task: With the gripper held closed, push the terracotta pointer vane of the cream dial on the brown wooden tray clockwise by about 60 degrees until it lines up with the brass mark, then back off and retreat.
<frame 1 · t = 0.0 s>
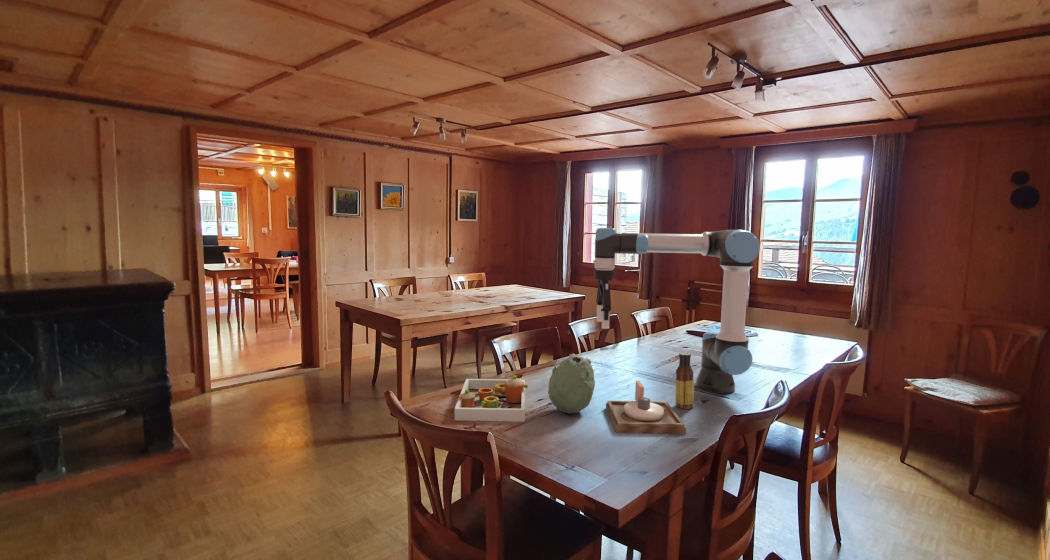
hand: (602, 325, 193), 28 cm above the table, fingers open, 13 cm apart
tea tray rim: (492, 403, 187), on the table
dial: (642, 399, 175), point 6 cm above the table, hinge at 0.0°
sauce bottle: (683, 407, 187), on the table
green rounded lumpy piece: (570, 412, 180), on the table
toy tea set: (492, 403, 187), resting in tea tray rim
brown wooden tray: (643, 420, 173), on the table
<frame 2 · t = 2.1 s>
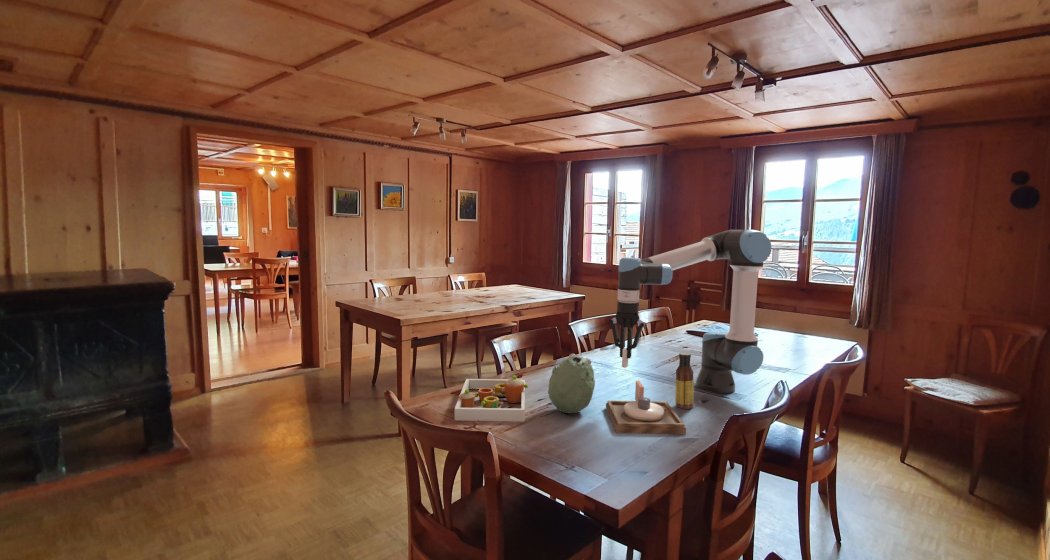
hand: (624, 366, 183), 15 cm above the table, fingers closed
nothing on the table moved.
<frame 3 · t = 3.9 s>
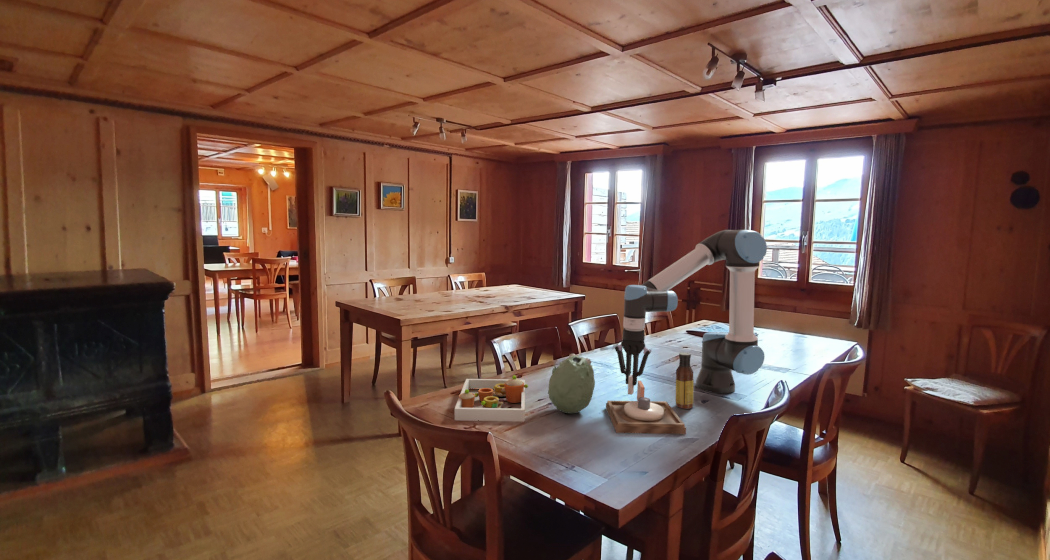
hand: (630, 393, 183), 6 cm above the table, fingers closed
dial: (643, 399, 175), point 6 cm above the table, hinge at -3.6°, touching gripper
everything else where it was.
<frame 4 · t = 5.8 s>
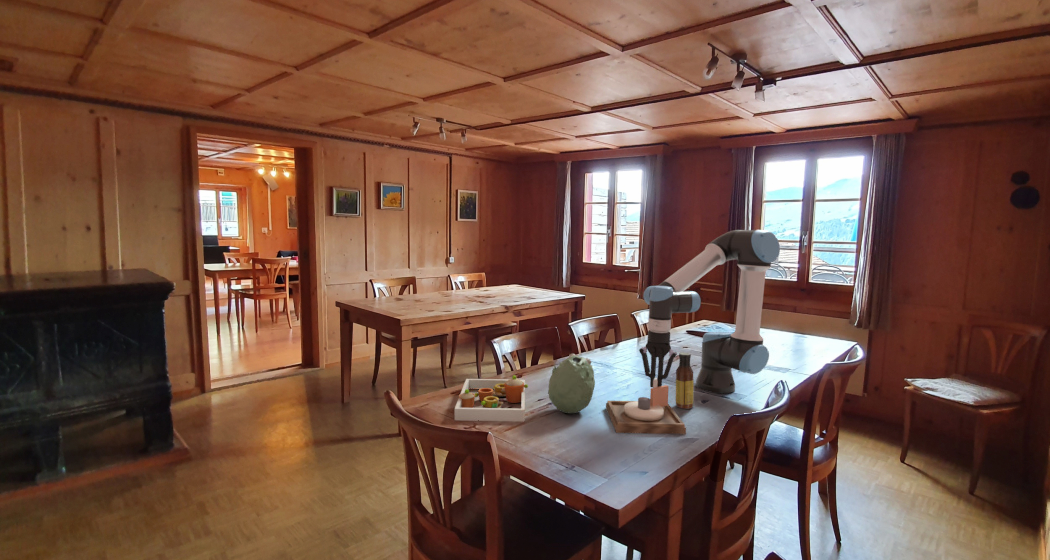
hand: (655, 396, 179), 6 cm above the table, fingers closed
dial: (648, 400, 173), point 6 cm above the table, hinge at -57.6°, touching gripper
everything else where it was.
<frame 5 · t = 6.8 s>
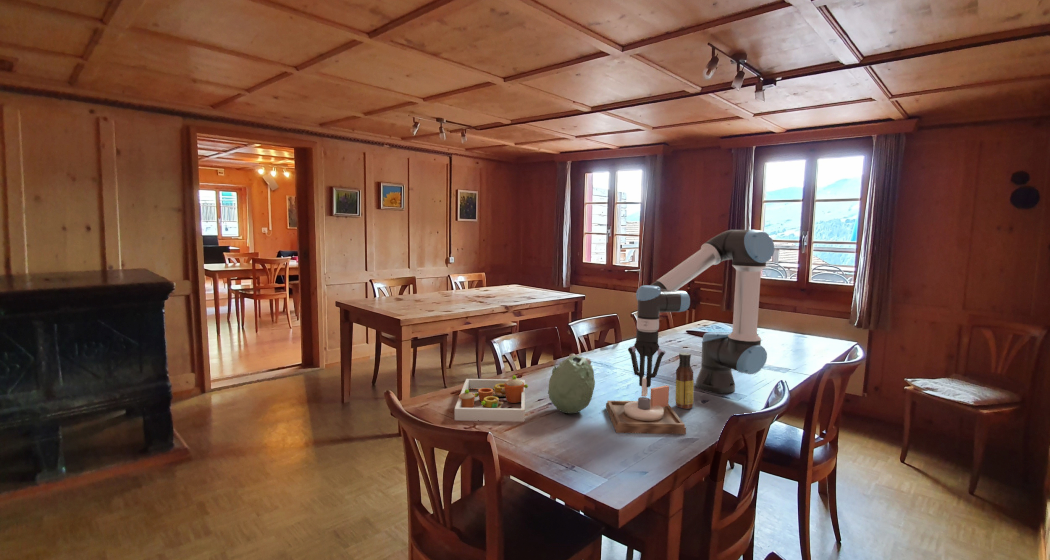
hand: (644, 395, 181), 6 cm above the table, fingers closed
dial: (648, 400, 173), point 6 cm above the table, hinge at -59.0°
everything else where it was.
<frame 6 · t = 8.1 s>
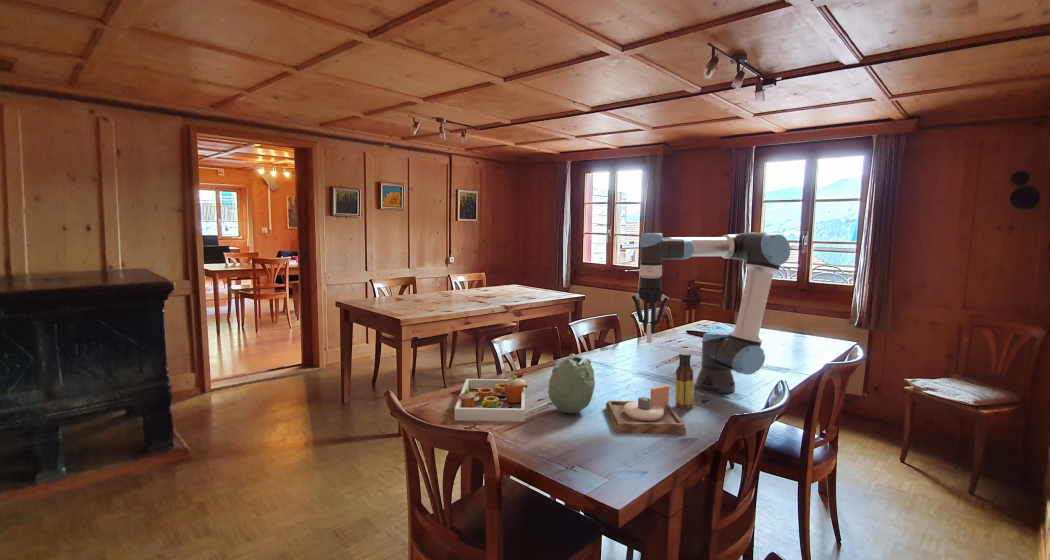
hand: (649, 342, 183), 24 cm above the table, fingers closed
nothing on the table moved.
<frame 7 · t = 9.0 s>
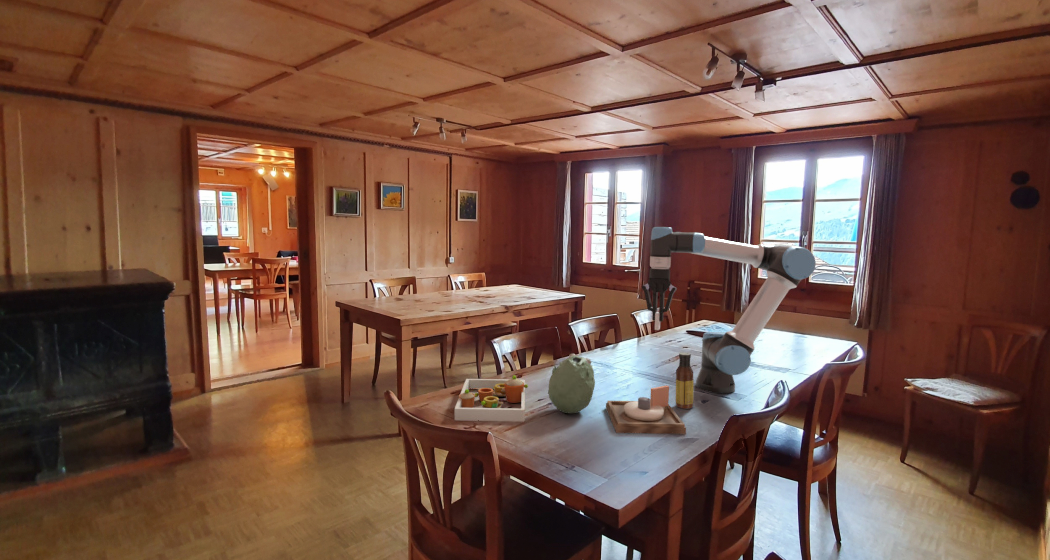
hand: (657, 329, 195), 26 cm above the table, fingers closed
nothing on the table moved.
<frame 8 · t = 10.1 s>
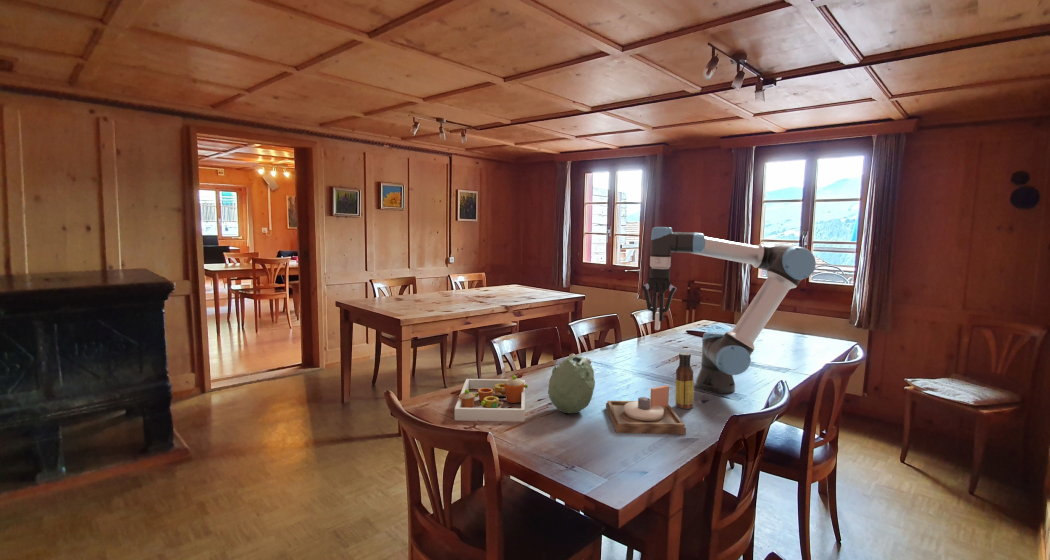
hand: (657, 329, 195), 26 cm above the table, fingers closed
nothing on the table moved.
at the end: dial at -59° (first picture: +0°) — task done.
